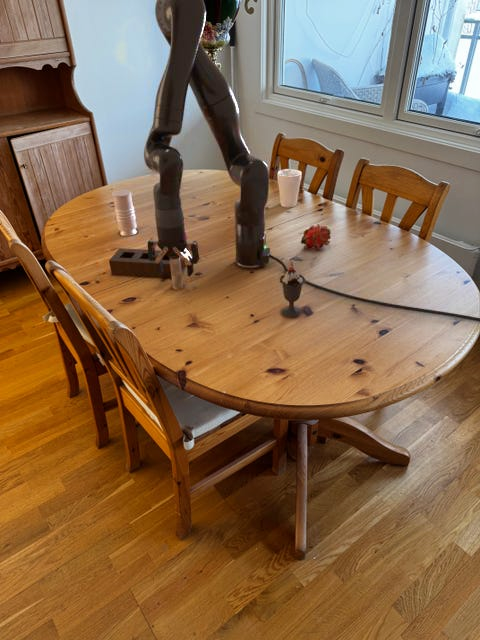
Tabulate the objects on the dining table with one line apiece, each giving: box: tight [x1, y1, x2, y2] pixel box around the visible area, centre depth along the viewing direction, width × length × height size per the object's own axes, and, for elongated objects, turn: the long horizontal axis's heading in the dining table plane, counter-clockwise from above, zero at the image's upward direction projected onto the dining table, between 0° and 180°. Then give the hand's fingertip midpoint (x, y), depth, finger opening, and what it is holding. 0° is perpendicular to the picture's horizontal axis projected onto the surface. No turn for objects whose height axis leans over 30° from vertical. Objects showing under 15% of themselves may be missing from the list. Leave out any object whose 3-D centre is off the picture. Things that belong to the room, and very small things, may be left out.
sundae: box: [279, 258, 307, 318], centre depth 120 cm, size 7×7×15 cm
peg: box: [169, 255, 184, 291], centre depth 134 cm, size 3×3×11 cm
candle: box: [111, 188, 138, 237], centre depth 166 cm, size 7×7×15 cm
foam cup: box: [277, 168, 303, 208], centre depth 186 cm, size 10×9×13 cm
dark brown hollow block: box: [108, 247, 186, 280], centre depth 145 cm, size 21×9×5 cm, turn 81°
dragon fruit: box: [300, 223, 332, 251], centre depth 154 cm, size 8×8×12 cm
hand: (175, 274), depth 134 cm, fingers open, 8 cm apart
